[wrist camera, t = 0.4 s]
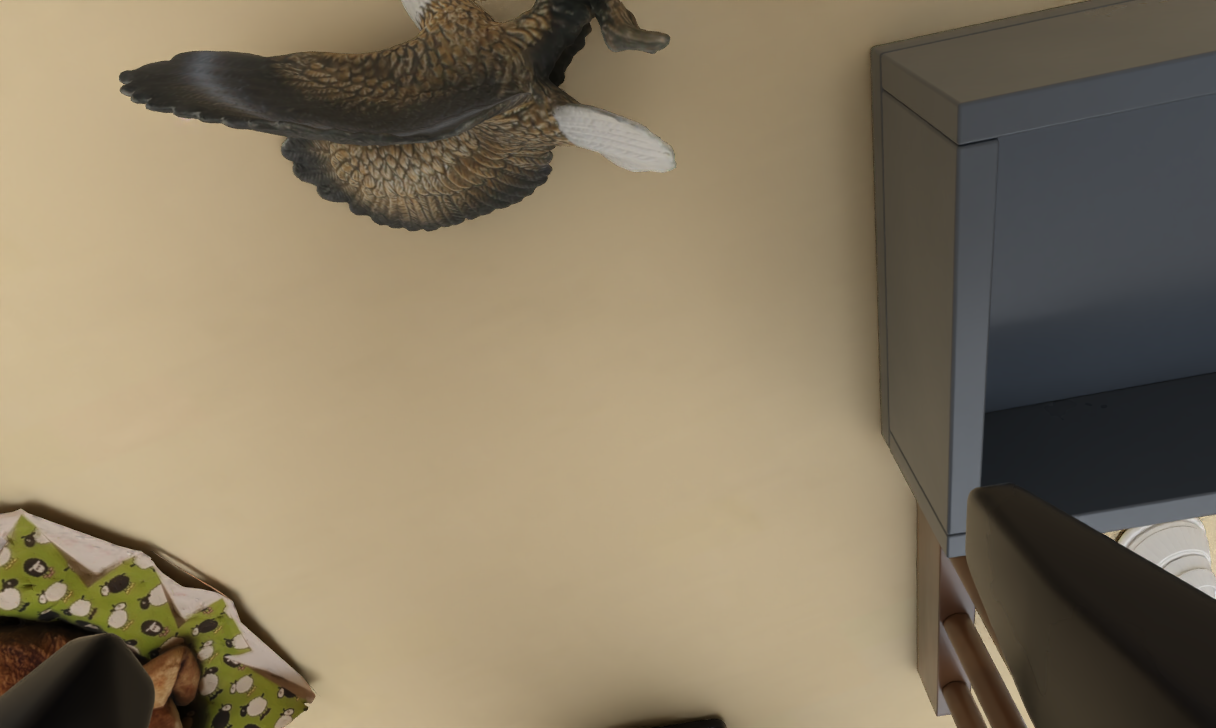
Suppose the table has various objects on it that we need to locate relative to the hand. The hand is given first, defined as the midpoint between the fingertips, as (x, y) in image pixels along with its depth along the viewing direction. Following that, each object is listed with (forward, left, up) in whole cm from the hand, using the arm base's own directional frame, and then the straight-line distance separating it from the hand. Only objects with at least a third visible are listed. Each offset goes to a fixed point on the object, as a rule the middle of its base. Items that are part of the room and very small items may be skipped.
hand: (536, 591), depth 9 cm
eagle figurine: (+3, +2, -14) cm, 15 cm away
